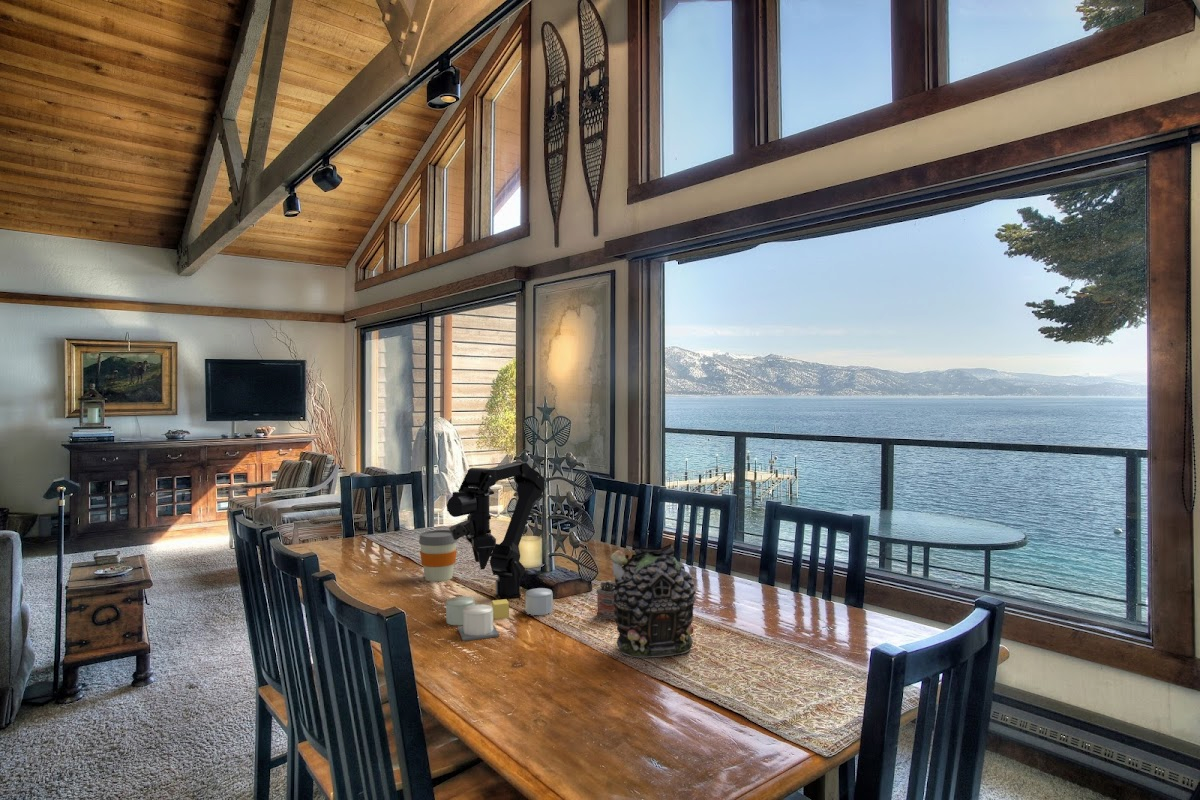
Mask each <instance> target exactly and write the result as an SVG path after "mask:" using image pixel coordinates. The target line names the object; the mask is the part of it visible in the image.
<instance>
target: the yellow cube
mask: <svg viewBox="0 0 1200 800" xmlns="http://www.w3.org/2000/svg"><path fill="white" fill-rule="evenodd" d="M507 599H508V598H504V599H495V600H494V599H493V600H491V603H492V605H491V607H492V608H493V620H499V619H508V618H510V603H509V601H508V600H507Z"/></svg>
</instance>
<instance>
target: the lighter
mask: <svg viewBox="0 0 1200 800" xmlns="http://www.w3.org/2000/svg"><path fill="white" fill-rule="evenodd" d="M614 582H615V581H612V580H611V579H608V580H607V581H605V580H601V581H600V587H598V588H596V593H597V595H596V596H597V597H596V598H597V601H596V602H597V603H596V605H597V606H596V607H597V610H596V611H597V612H596V617H597V616H598V617H597V618H599V617H601V618H600V619H603V618H605V619H604V620H608V619H612V620H611V621H615V620H614V611H615V606H614V605H613V602H612V601H613V599H614V596H613V593H614V588H615V587H614Z"/></svg>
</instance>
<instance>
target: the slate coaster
mask: <svg viewBox="0 0 1200 800" xmlns="http://www.w3.org/2000/svg"><path fill="white" fill-rule="evenodd" d="M457 630H458V632H459V635H460V637H461V640H462V641H463V642H466V641H472V640H474V641H475V640H481V639H489V638H496V637H497V638H498V637H500V633H499V632H498V630H497V628H496V627H495V625H494V624H493V631H492V632H491V633H488V634H485V635H478V636H474V635H467V634H465V633H464V631H463V625H461V626H458V627H457Z"/></svg>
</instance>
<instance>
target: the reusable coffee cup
mask: <svg viewBox="0 0 1200 800" xmlns="http://www.w3.org/2000/svg"><path fill="white" fill-rule="evenodd" d="M458 540H459V539H457V540H454V539H453V537H452V534H451V532H450V529H434V530H428V531H423V532H421V533H420V534H419V541H418V544H419V545H420V551H419V553H420V561H421V565H422V566H423V574H424V580H425V581H427V582H432V581H433V583H434V582H435V583H436V582H437V583H438V581H439V582H446V581H449V580H451V579H453V574H454V565H455V563H456V560H457V552H458V551H457V550H458V549H457V542H458Z"/></svg>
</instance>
